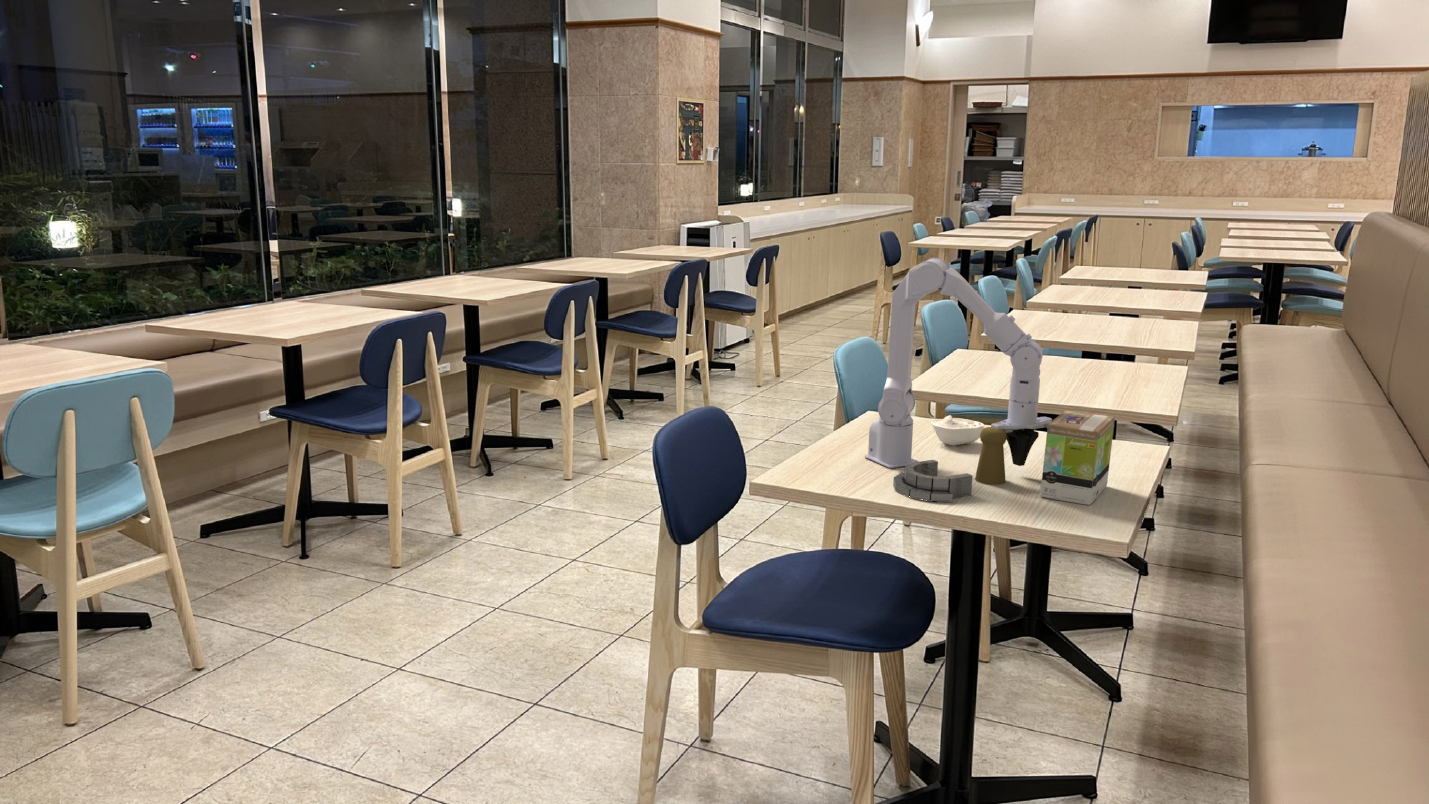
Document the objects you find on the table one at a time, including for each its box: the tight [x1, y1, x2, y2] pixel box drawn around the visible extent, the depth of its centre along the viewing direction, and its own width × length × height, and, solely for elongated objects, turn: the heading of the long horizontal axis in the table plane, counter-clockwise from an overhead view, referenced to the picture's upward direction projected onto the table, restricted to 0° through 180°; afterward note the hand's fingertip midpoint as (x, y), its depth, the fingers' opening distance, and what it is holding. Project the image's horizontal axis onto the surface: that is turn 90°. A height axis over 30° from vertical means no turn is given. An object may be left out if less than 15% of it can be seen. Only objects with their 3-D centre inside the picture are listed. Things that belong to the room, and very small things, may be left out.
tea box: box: [1039, 410, 1115, 506], centre depth 204 cm, size 15×10×15 cm, turn 149°
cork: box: [974, 426, 1007, 486], centre depth 212 cm, size 6×6×11 cm
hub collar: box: [892, 459, 973, 503], centre depth 205 cm, size 16×12×4 cm
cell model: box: [930, 415, 985, 446], centre depth 239 cm, size 10×12×7 cm
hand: (1018, 464), depth 216 cm, fingers closed
